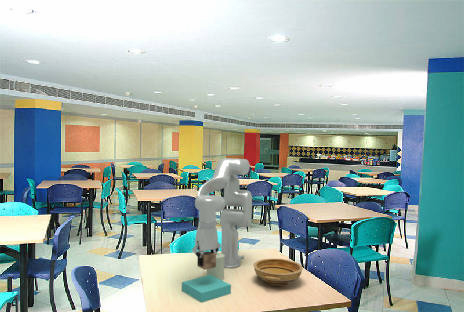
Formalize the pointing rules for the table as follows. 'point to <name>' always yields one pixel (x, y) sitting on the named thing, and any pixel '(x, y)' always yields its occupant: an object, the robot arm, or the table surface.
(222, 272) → the can
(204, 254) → the walnut cube
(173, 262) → the table surface
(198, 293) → the teal base
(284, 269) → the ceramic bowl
